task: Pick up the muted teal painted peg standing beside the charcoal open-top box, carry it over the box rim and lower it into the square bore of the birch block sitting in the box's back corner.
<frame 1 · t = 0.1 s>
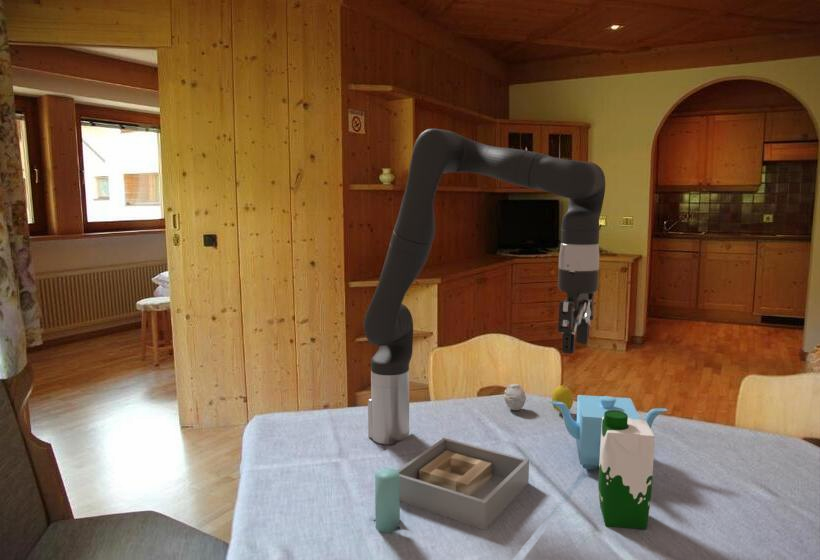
hand: (575, 348, 118), 29 cm above the table, fingers open, 8 cm apart
milk carton: (622, 518, 111), on the table
bore block: (455, 480, 123), resting on open box
lemon: (561, 414, 162), on the table
teakettle: (605, 463, 133), on the table
peg: (387, 525, 108), on the table
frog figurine: (514, 410, 165), on the table
open box: (461, 494, 119), on the table
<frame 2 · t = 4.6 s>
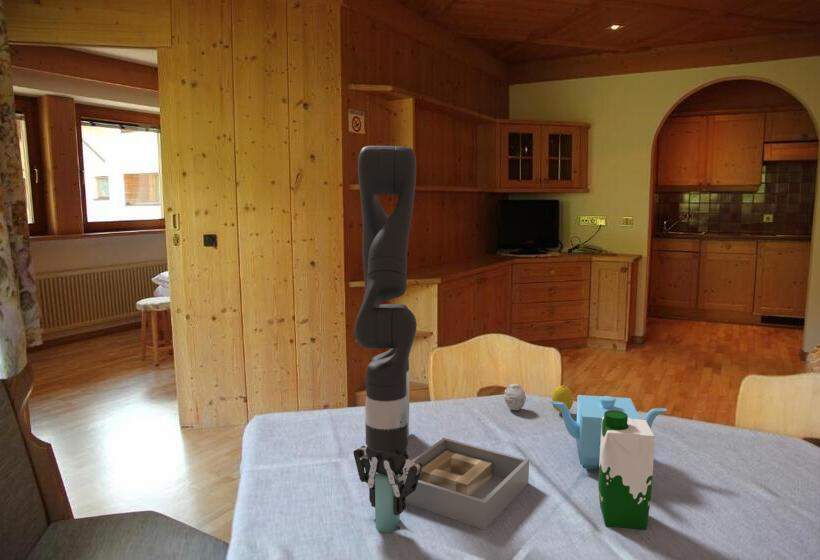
hand: (387, 508, 108), 3 cm above the table, fingers closed on peg, 4 cm apart
peg: (387, 525, 108), on the table, touching gripper
everything else where it was.
when the fingers open (5 cm above the table, at t = 11.6 s): peg stays where it is, resting on open box.
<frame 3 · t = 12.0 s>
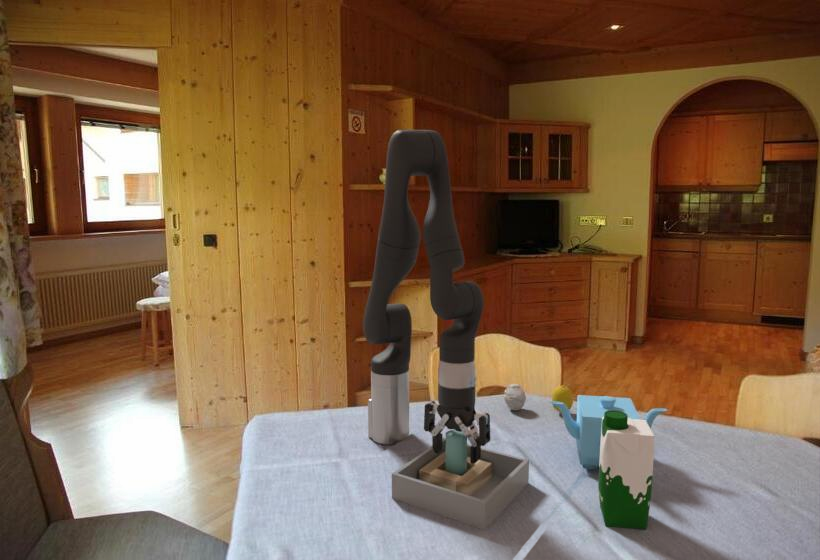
hand: (456, 457, 122), 6 cm above the table, fingers open, 8 cm apart
peg: (456, 480, 123), point 1 cm above the table, touching open box
everything else where it was.
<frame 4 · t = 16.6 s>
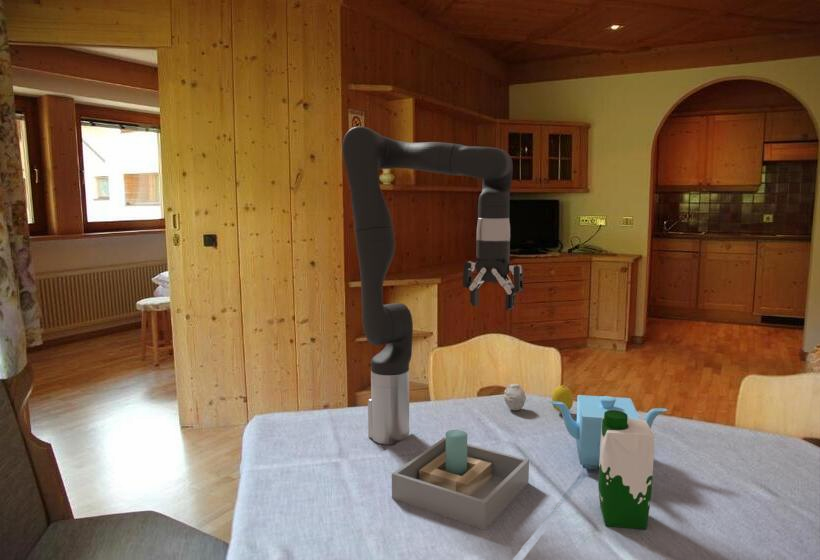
hand: (492, 308, 138), 33 cm above the table, fingers open, 8 cm apart
nothing on the table moved.
at the end: peg 0.0 cm off-centre on the bore block, point 0.0 cm above the bore block's base; peg tilted 0°; the gripper is holding nothing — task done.
